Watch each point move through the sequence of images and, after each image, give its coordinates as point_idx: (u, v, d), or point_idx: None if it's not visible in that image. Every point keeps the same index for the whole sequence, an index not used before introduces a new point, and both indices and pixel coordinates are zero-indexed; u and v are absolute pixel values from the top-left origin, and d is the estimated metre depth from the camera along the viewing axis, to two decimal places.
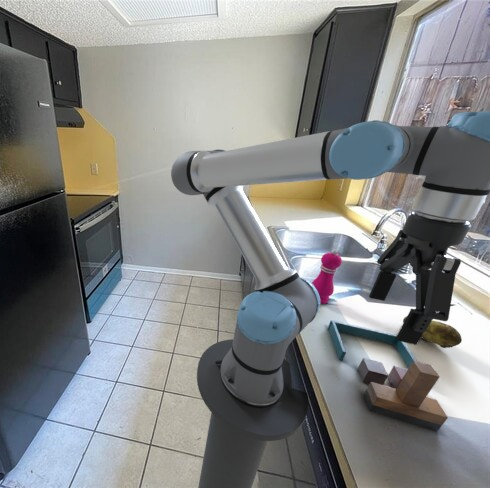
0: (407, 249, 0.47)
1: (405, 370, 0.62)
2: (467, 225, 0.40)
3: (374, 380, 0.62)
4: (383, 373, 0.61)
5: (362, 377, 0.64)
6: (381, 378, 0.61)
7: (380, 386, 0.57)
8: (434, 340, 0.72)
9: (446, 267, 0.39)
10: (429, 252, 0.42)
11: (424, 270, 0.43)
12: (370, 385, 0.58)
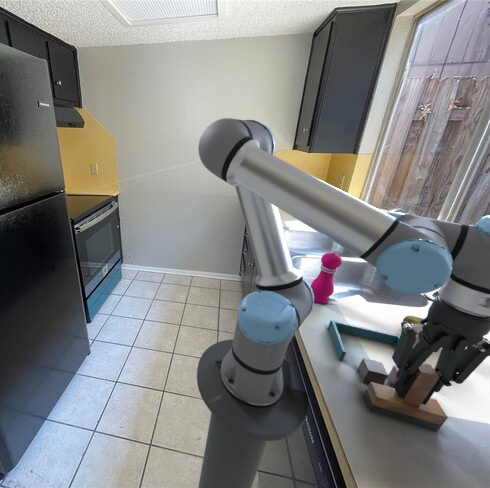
0: None
1: None
2: (454, 310, 0.44)
3: (374, 380, 0.62)
4: (383, 373, 0.61)
5: (362, 377, 0.64)
6: (381, 378, 0.61)
7: (380, 386, 0.57)
8: None
9: (404, 331, 0.50)
10: None
11: (423, 340, 0.50)
12: (370, 385, 0.58)
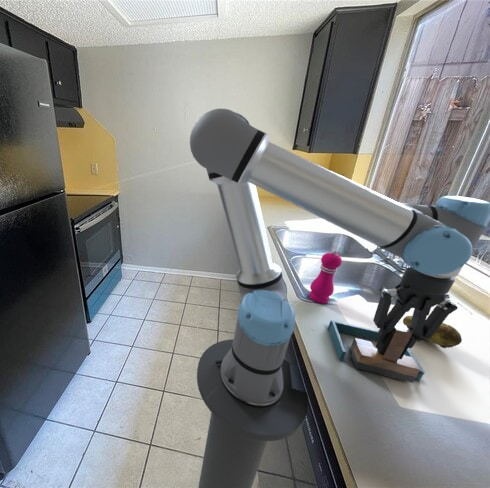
0: None
1: None
2: (420, 274, 0.53)
3: None
4: None
5: None
6: None
7: (364, 347, 0.67)
8: (434, 340, 0.72)
9: (382, 295, 0.60)
10: None
11: (398, 303, 0.60)
12: (356, 346, 0.67)
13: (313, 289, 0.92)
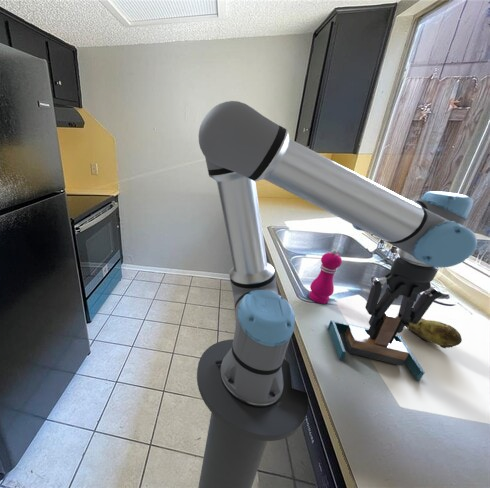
0: None
1: None
2: (407, 263, 0.58)
3: None
4: None
5: None
6: None
7: (357, 333, 0.71)
8: (434, 340, 0.72)
9: (373, 284, 0.64)
10: None
11: (387, 291, 0.64)
12: (350, 333, 0.72)
13: (313, 289, 0.92)
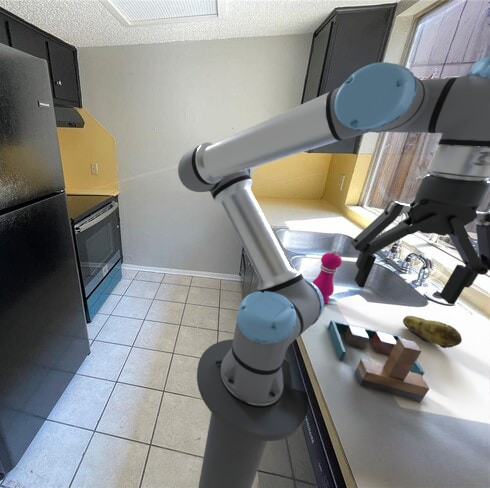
0: None
1: (385, 335, 0.73)
2: (443, 179, 0.39)
3: (357, 343, 0.73)
4: (365, 336, 0.72)
5: (347, 341, 0.75)
6: (363, 341, 0.72)
7: (369, 362, 0.63)
8: (434, 340, 0.72)
9: (388, 209, 0.44)
10: None
11: (402, 223, 0.45)
12: (361, 362, 0.64)
13: None
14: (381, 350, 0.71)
